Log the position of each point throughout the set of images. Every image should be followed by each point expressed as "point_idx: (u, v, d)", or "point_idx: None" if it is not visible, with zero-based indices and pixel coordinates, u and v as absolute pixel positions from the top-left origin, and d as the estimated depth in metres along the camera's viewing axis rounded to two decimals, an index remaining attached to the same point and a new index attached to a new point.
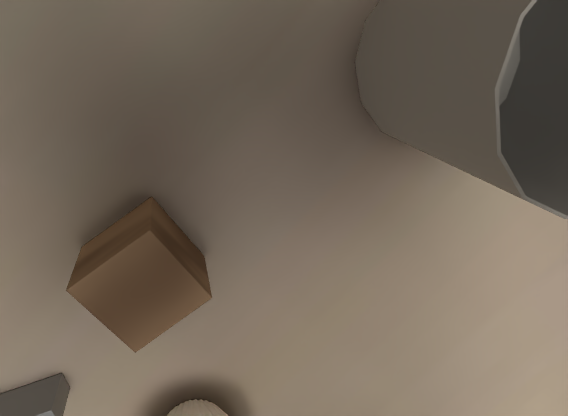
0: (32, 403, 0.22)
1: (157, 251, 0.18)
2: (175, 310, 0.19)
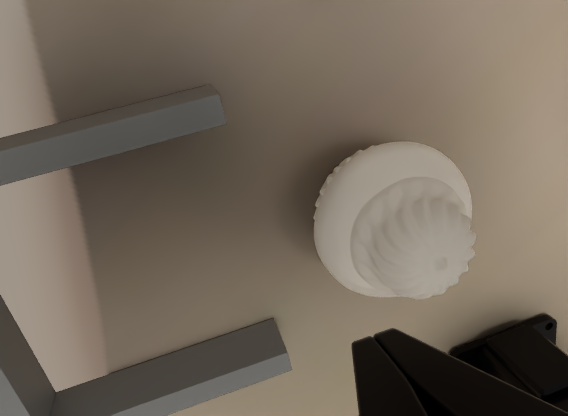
0: (184, 98, 0.16)
1: None
2: None
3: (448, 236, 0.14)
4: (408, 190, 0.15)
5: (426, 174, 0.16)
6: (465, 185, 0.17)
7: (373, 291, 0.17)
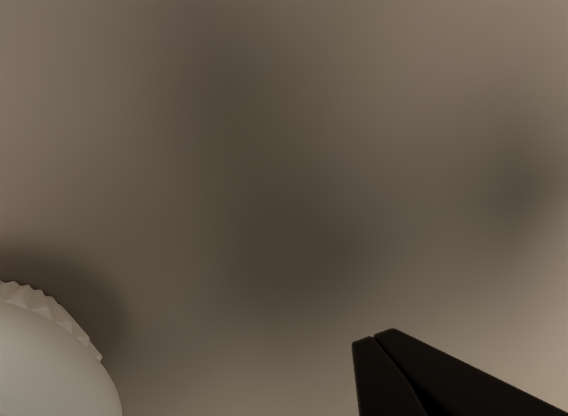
0: None
1: None
2: None
3: None
4: None
5: None
6: (55, 389, 0.08)
7: None
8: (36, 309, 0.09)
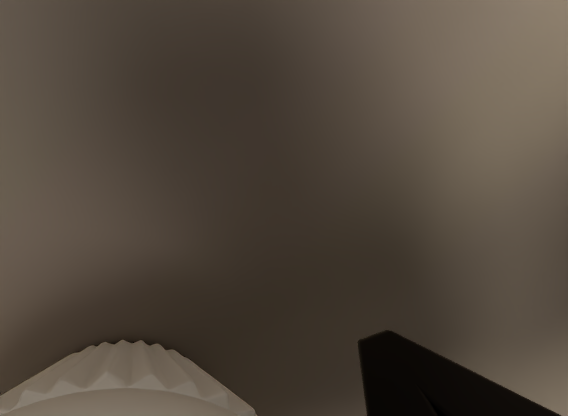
0: None
1: None
2: None
3: None
4: None
5: None
6: None
7: None
8: (211, 396, 0.06)
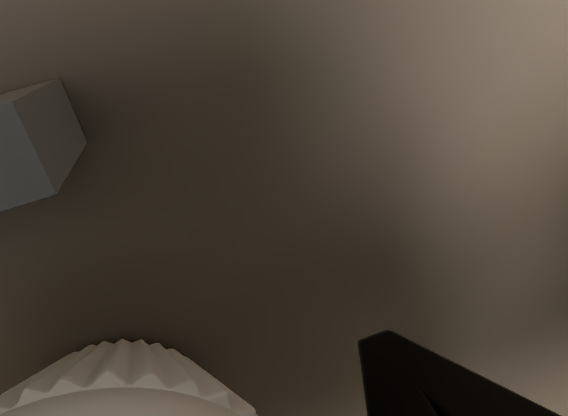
0: None
1: None
2: None
3: None
4: None
5: None
6: None
7: None
8: (212, 395, 0.06)
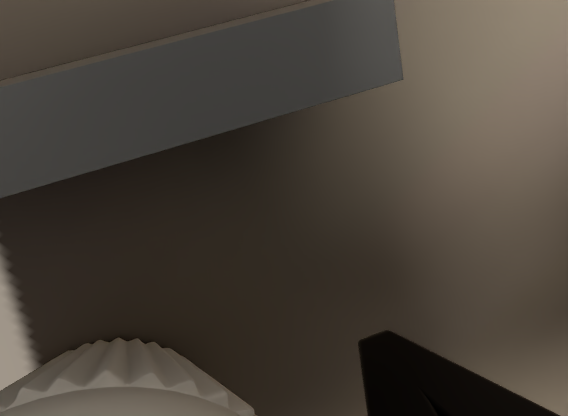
0: (274, 12, 0.06)
1: None
2: None
3: None
4: None
5: None
6: None
7: None
8: (210, 396, 0.06)
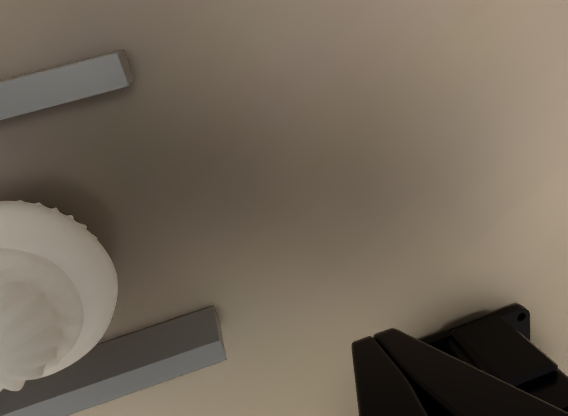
0: (85, 60, 0.15)
1: None
2: None
3: None
4: None
5: None
6: (78, 252, 0.14)
7: None
8: None
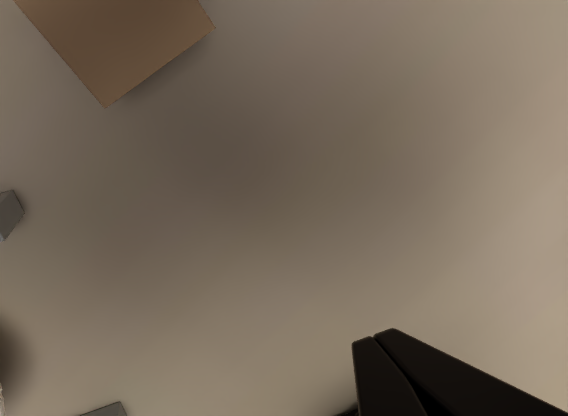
0: None
1: None
2: (162, 42, 0.13)
3: None
4: None
5: None
6: None
7: None
8: None
